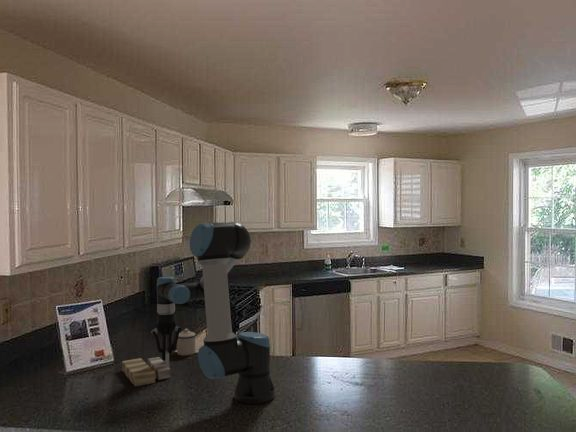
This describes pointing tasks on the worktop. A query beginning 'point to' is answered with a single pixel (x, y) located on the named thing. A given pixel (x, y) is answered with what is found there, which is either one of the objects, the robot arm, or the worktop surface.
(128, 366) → the oak floor row
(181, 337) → the teacup with lid
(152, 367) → the plank
